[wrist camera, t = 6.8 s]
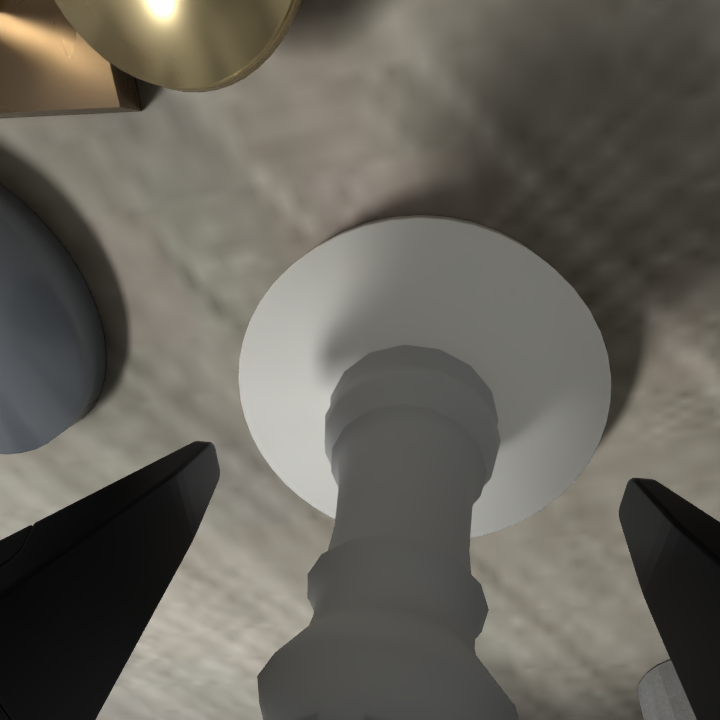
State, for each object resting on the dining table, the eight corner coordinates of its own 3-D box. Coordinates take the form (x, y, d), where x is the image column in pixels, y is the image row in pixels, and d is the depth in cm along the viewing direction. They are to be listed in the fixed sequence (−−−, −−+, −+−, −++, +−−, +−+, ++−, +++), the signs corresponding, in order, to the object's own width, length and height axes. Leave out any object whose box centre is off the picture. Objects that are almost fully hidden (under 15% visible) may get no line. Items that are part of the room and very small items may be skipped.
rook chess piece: (496, 331, 10) (654, 752, 3) (495, 476, 12) (589, 955, 5) (320, 342, 11) (102, 683, 4) (344, 475, 13) (229, 875, 6)
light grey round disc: (558, 527, 14) (568, 559, 13) (273, 498, 15) (261, 524, 14) (637, 213, 9) (662, 219, 8) (232, 215, 11) (210, 220, 10)
